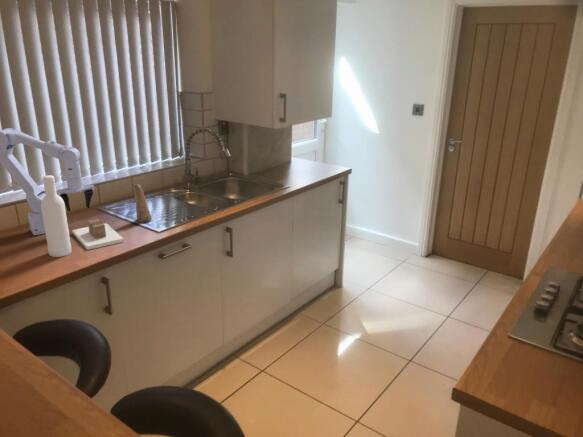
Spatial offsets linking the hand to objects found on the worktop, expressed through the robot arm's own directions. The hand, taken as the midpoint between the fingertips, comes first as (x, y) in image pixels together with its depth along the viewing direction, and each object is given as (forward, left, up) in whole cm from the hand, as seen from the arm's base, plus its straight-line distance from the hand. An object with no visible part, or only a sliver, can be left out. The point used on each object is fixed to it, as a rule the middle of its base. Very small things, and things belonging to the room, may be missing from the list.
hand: (78, 209), depth 198 cm
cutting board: (+3, -13, -9) cm, 16 cm away
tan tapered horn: (+26, -4, -10) cm, 28 cm away
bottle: (-13, -20, -10) cm, 26 cm away
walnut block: (+3, -13, -8) cm, 15 cm away
